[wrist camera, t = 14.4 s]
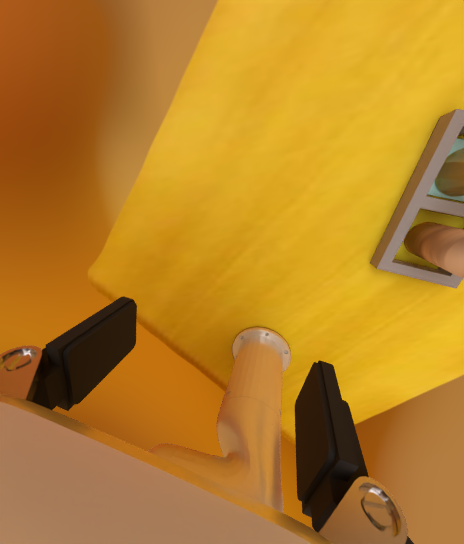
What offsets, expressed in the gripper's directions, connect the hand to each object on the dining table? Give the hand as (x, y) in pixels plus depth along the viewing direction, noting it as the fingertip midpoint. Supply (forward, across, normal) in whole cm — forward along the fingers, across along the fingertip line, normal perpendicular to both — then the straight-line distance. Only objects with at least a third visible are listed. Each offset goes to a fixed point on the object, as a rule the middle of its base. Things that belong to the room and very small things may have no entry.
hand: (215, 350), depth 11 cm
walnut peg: (+30, -23, -5) cm, 38 cm away
